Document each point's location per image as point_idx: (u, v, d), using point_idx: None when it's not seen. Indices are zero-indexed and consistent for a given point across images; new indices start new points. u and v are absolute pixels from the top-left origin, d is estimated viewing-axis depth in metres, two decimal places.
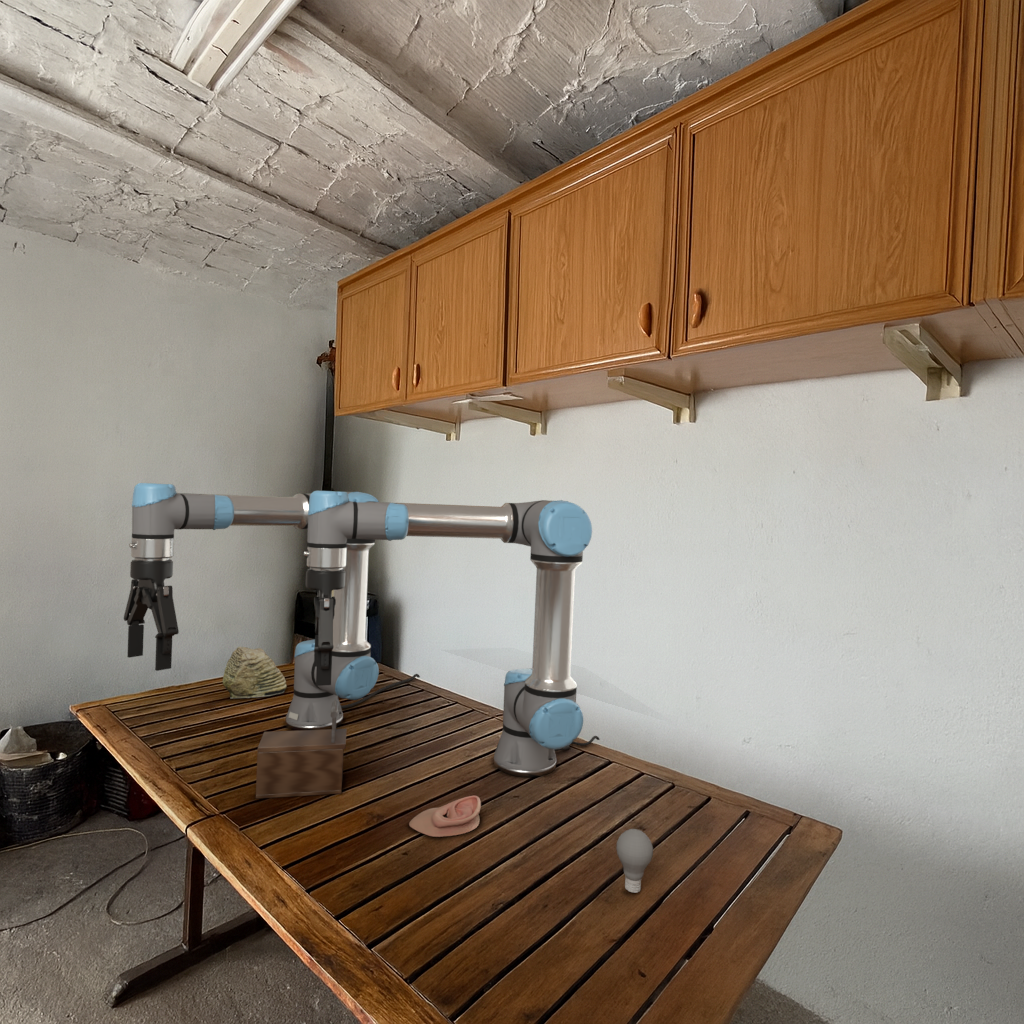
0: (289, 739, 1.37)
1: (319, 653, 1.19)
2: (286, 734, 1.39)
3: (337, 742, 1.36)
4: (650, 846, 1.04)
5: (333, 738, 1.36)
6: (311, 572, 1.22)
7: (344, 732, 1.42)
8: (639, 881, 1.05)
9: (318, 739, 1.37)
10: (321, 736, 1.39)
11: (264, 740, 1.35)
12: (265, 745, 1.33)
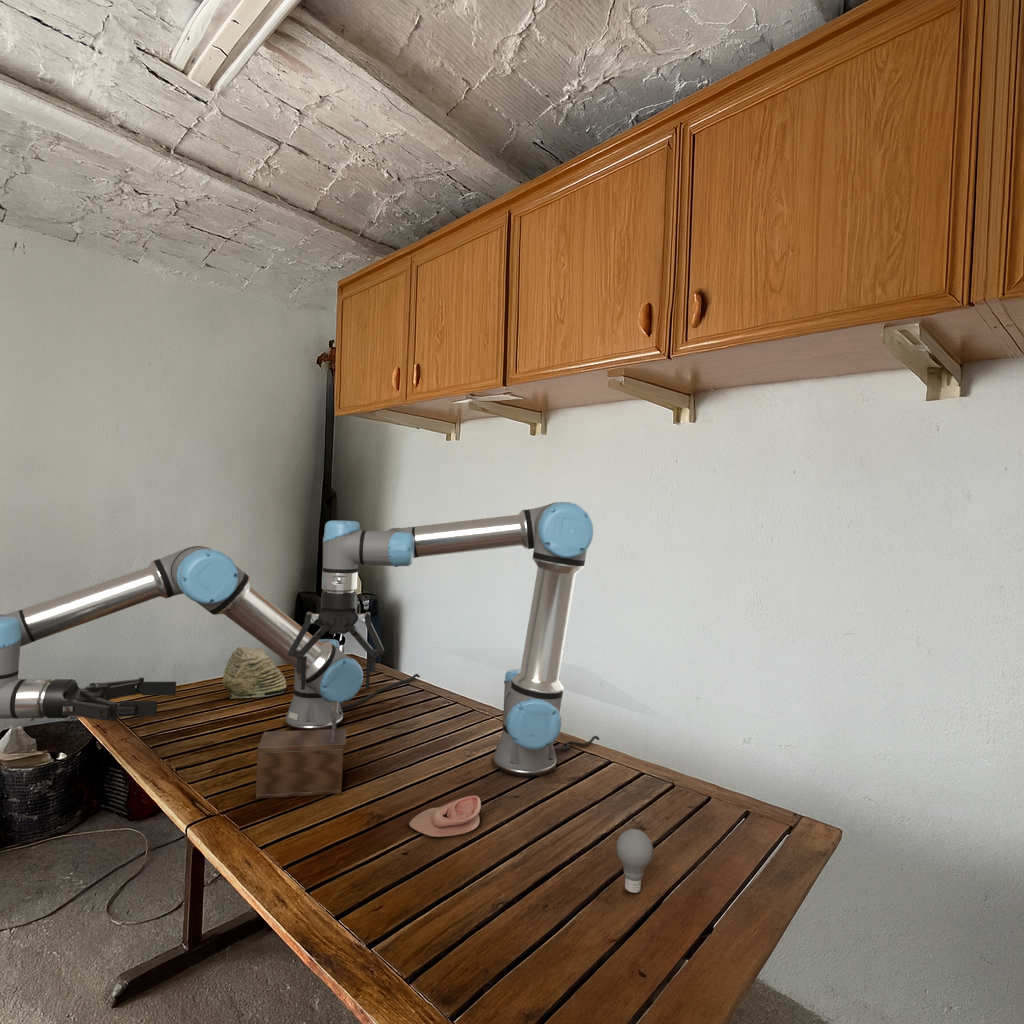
0: (289, 739, 1.37)
1: (370, 660, 1.40)
2: (286, 734, 1.39)
3: (337, 742, 1.36)
4: (650, 846, 1.04)
5: (333, 738, 1.36)
6: (349, 595, 1.37)
7: (344, 732, 1.42)
8: (639, 881, 1.05)
9: (318, 739, 1.37)
10: (321, 736, 1.39)
11: (264, 740, 1.35)
12: (265, 745, 1.33)
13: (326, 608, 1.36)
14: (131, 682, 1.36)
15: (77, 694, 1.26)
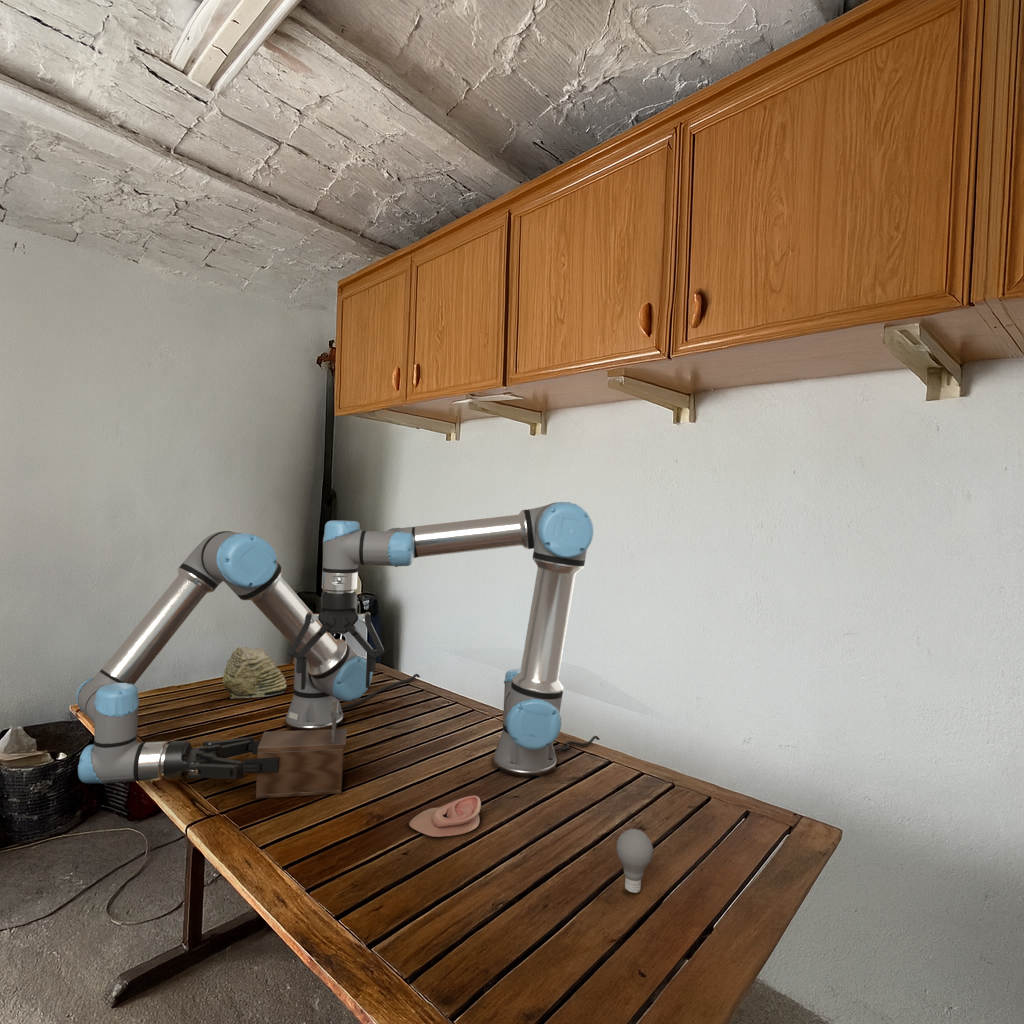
0: (289, 739, 1.37)
1: (370, 660, 1.40)
2: (286, 734, 1.39)
3: (337, 742, 1.36)
4: (650, 846, 1.04)
5: (333, 738, 1.36)
6: (349, 595, 1.37)
7: (344, 732, 1.42)
8: (639, 881, 1.05)
9: (318, 739, 1.37)
10: (321, 736, 1.39)
11: (264, 740, 1.35)
12: (265, 745, 1.33)
13: (326, 608, 1.36)
14: (242, 741, 1.40)
15: (193, 756, 1.32)
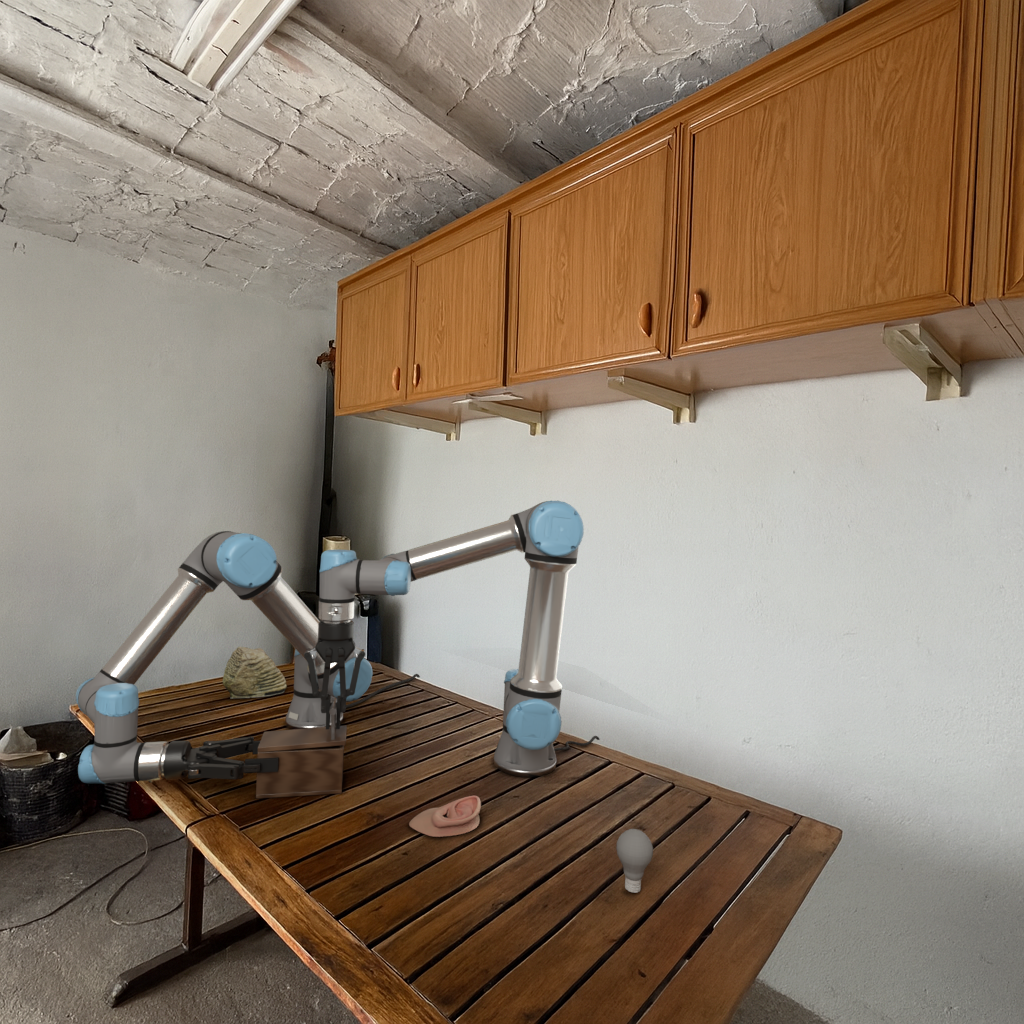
0: (289, 737, 1.37)
1: (340, 700, 1.39)
2: (286, 733, 1.39)
3: (337, 739, 1.36)
4: (650, 846, 1.04)
5: (333, 735, 1.36)
6: (346, 625, 1.37)
7: (344, 729, 1.42)
8: (639, 881, 1.05)
9: (318, 737, 1.37)
10: (321, 734, 1.39)
11: (264, 740, 1.35)
12: (265, 745, 1.33)
13: (323, 638, 1.36)
14: (242, 741, 1.40)
15: (193, 756, 1.32)
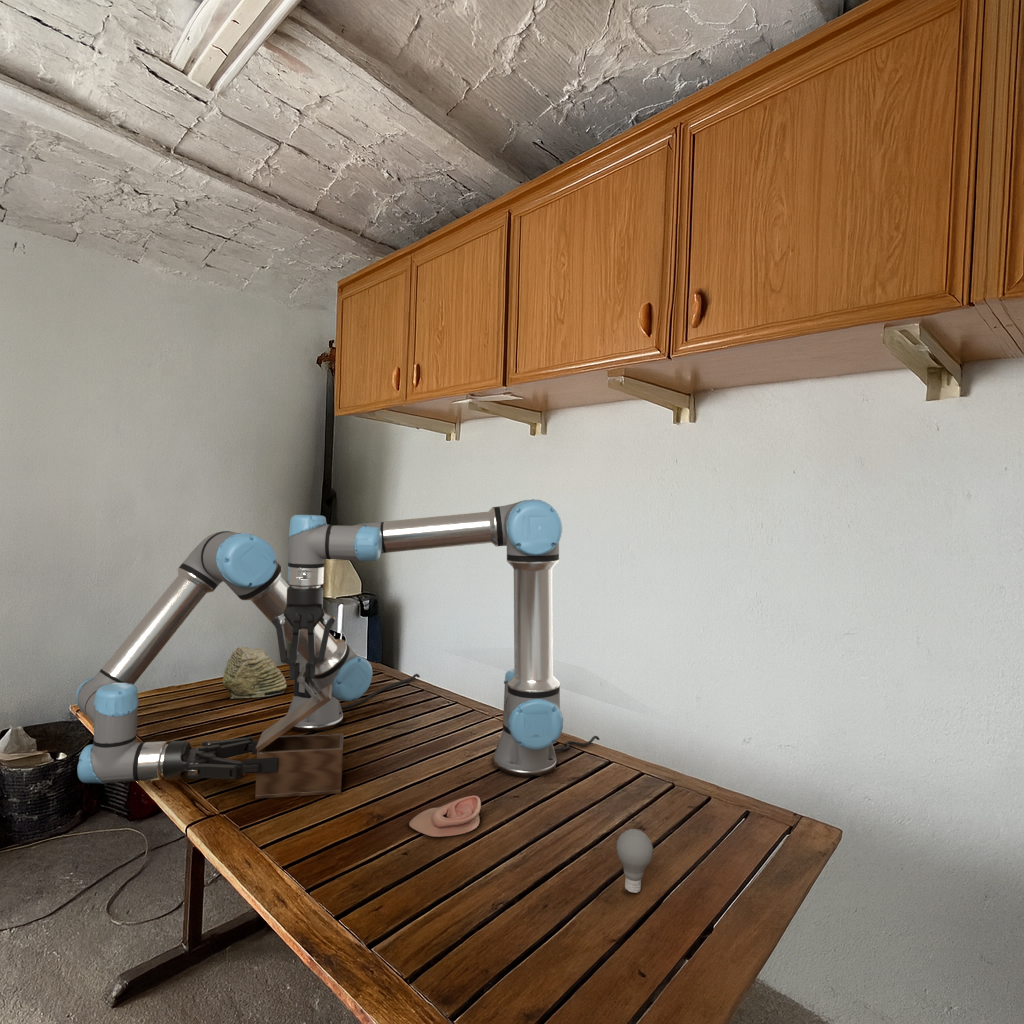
0: (282, 723, 1.36)
1: (309, 667, 1.37)
2: (280, 721, 1.39)
3: (321, 699, 1.35)
4: (650, 846, 1.04)
5: (315, 698, 1.35)
6: (315, 590, 1.35)
7: (328, 687, 1.41)
8: (639, 881, 1.05)
9: (306, 707, 1.37)
10: (308, 703, 1.38)
11: (261, 738, 1.35)
12: (261, 742, 1.32)
13: (291, 603, 1.34)
14: (241, 741, 1.40)
15: (192, 756, 1.32)
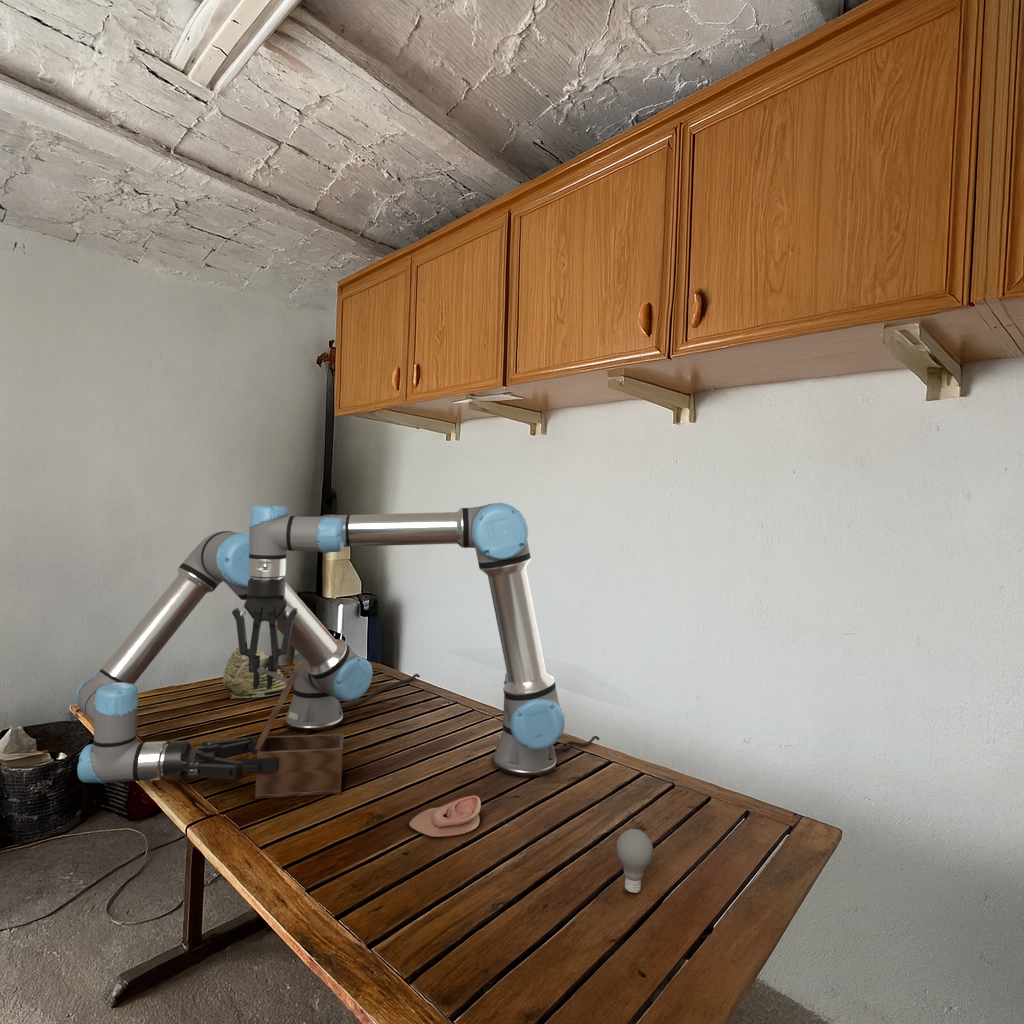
0: (270, 716, 1.36)
1: (271, 660, 1.35)
2: (270, 715, 1.39)
3: (290, 677, 1.34)
4: (650, 846, 1.04)
5: (284, 679, 1.33)
6: (276, 582, 1.33)
7: (296, 664, 1.39)
8: (639, 881, 1.05)
9: (283, 692, 1.35)
10: None
11: (259, 738, 1.35)
12: (258, 741, 1.32)
13: (251, 595, 1.32)
14: (241, 741, 1.40)
15: (192, 756, 1.32)
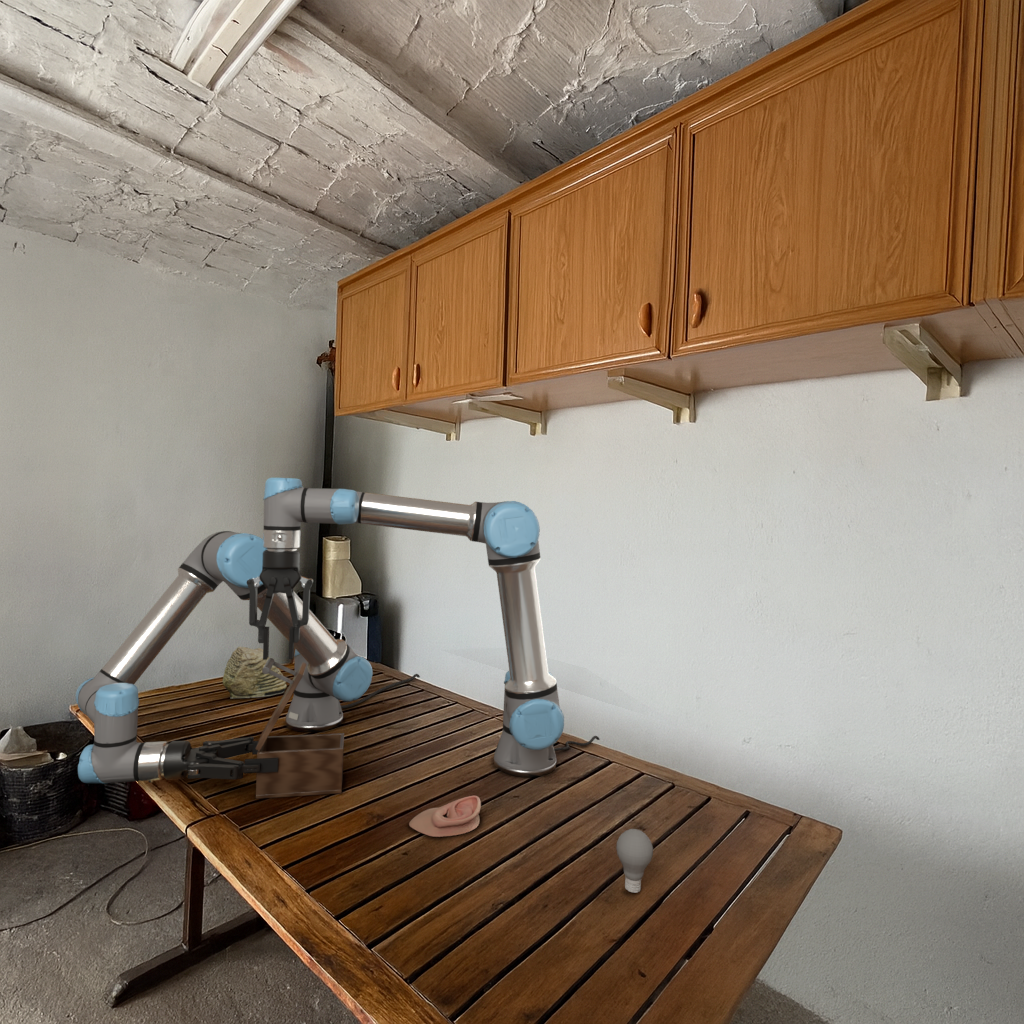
0: (272, 716, 1.36)
1: (293, 630, 1.36)
2: (272, 716, 1.39)
3: (294, 679, 1.34)
4: (650, 846, 1.04)
5: (288, 680, 1.33)
6: (291, 553, 1.34)
7: (300, 666, 1.39)
8: (639, 881, 1.05)
9: (286, 693, 1.36)
10: (288, 688, 1.37)
11: None
12: (259, 741, 1.32)
13: (266, 566, 1.33)
14: (242, 741, 1.40)
15: (193, 756, 1.32)
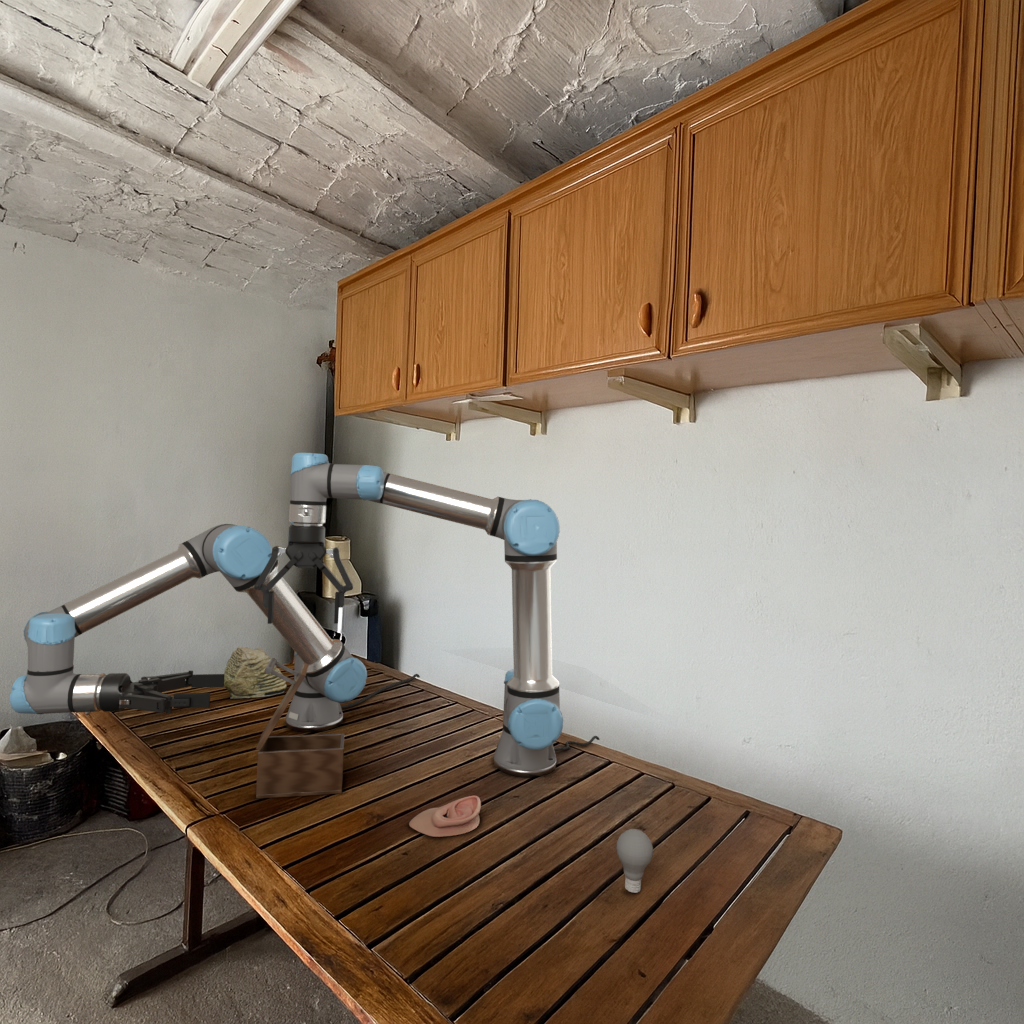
0: (273, 716, 1.36)
1: (338, 595, 1.38)
2: (273, 716, 1.39)
3: (297, 680, 1.34)
4: (650, 846, 1.04)
5: (290, 681, 1.34)
6: (317, 528, 1.35)
7: (302, 667, 1.40)
8: (639, 881, 1.05)
9: (288, 693, 1.36)
10: (290, 688, 1.37)
11: (260, 738, 1.35)
12: (259, 741, 1.32)
13: (293, 541, 1.34)
14: (181, 675, 1.39)
15: (131, 688, 1.29)
